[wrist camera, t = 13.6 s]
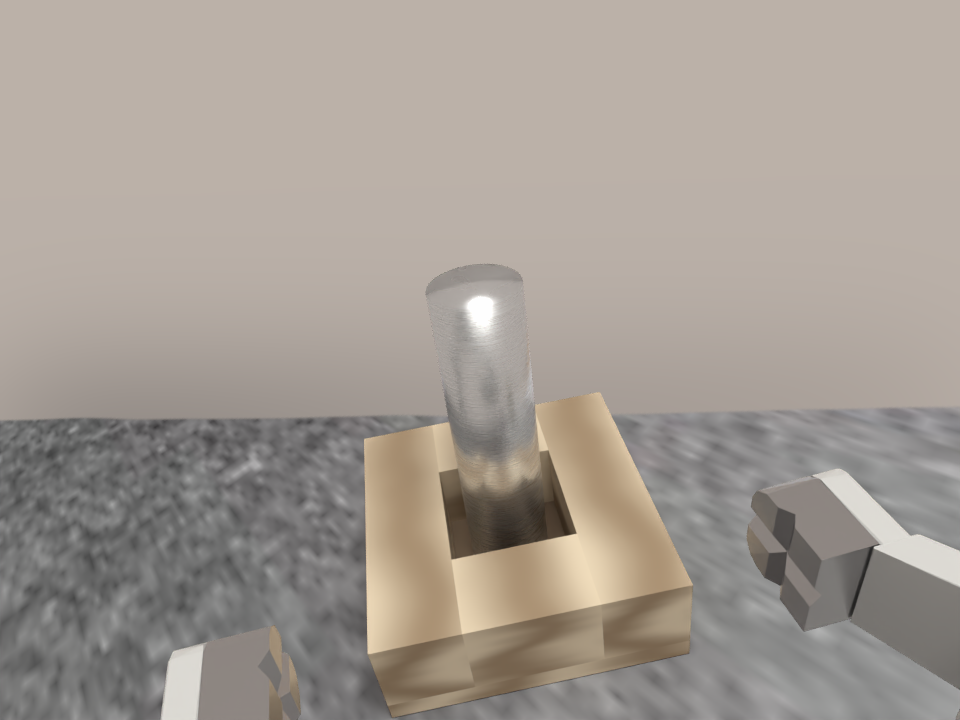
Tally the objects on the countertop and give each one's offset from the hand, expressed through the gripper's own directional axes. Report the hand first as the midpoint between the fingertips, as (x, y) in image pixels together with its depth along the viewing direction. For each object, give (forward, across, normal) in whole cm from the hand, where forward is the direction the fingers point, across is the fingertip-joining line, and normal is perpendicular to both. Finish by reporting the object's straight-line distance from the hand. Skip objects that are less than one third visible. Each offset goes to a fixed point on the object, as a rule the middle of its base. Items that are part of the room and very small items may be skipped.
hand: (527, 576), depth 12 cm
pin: (+17, -3, +20) cm, 27 cm away
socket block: (+17, -3, +22) cm, 28 cm away
